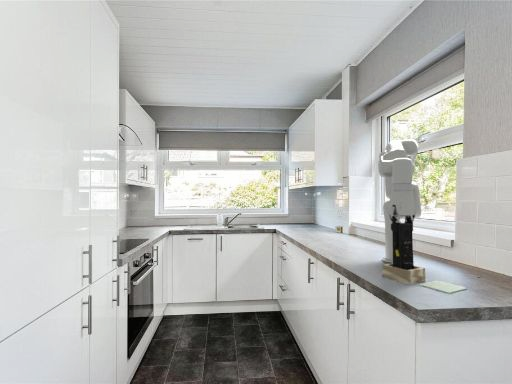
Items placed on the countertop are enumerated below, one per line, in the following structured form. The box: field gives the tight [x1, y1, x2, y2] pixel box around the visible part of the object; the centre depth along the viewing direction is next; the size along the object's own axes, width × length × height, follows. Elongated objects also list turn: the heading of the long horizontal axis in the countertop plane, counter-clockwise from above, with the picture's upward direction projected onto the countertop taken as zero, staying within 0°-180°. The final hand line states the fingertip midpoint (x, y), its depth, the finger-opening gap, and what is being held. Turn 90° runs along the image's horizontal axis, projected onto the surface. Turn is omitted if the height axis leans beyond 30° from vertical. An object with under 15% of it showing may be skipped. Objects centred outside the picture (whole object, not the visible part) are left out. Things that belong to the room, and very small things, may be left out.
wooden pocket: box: [381, 263, 426, 285], centre depth 119 cm, size 10×12×5 cm
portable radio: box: [391, 217, 415, 270], centre depth 119 cm, size 8×6×25 cm
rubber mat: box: [418, 280, 468, 295], centre depth 108 cm, size 11×11×1 cm
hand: (402, 231), depth 120 cm, fingers closed on portable radio, 7 cm apart
